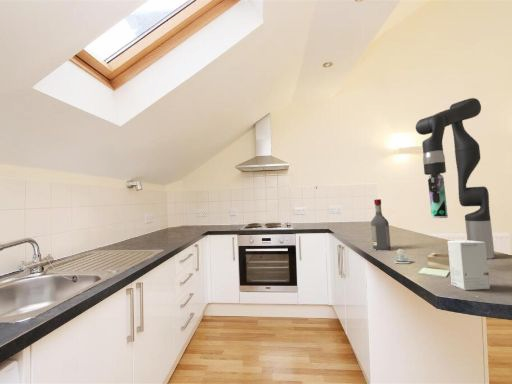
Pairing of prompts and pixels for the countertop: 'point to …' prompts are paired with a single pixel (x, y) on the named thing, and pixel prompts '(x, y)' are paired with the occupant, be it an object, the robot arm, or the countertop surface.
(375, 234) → the liquor
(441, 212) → the spray can
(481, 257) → the skincare box
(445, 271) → the mat
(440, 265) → the wooden box holder
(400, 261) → the pacifier
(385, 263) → the countertop surface
